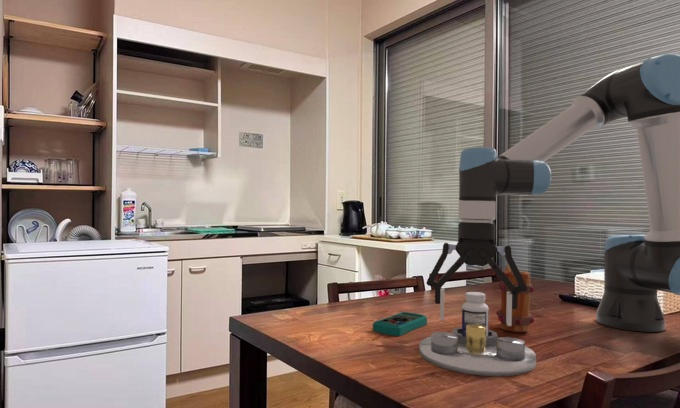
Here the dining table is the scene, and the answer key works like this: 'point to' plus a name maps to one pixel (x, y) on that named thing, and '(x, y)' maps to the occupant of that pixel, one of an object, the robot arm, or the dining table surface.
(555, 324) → the dining table surface
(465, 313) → the pill bottle
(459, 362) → the carrier
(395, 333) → the digital multimeter
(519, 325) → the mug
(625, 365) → the dining table surface
